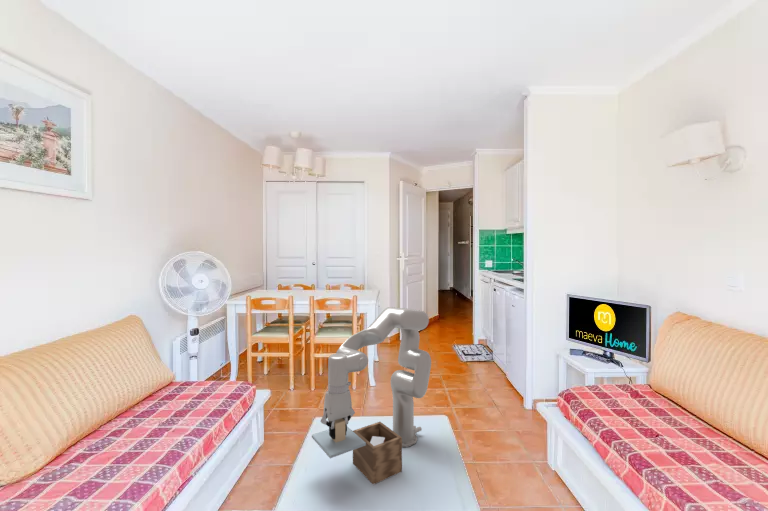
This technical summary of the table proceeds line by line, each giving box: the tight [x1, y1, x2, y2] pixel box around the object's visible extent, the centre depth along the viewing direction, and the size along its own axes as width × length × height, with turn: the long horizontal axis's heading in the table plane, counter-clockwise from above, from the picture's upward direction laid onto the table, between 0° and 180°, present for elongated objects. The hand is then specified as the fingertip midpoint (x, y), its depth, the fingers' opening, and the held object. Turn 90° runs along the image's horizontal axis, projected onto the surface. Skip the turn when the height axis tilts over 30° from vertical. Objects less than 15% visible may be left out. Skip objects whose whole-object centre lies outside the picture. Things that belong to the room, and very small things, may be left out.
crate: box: [352, 421, 403, 486], centre depth 138 cm, size 13×15×14 cm
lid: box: [311, 418, 366, 459], centre depth 130 cm, size 14×16×9 cm
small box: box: [370, 436, 385, 446], centre depth 138 cm, size 8×6×10 cm
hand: (338, 435), depth 130 cm, fingers closed on lid, 4 cm apart
